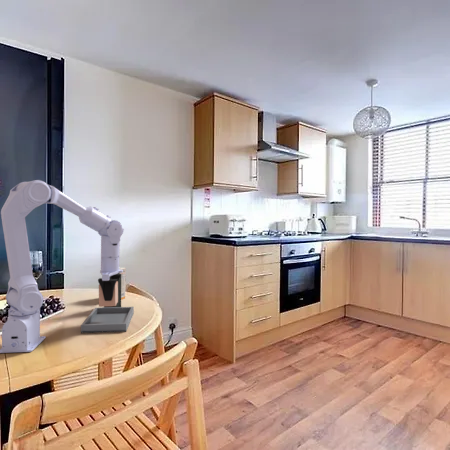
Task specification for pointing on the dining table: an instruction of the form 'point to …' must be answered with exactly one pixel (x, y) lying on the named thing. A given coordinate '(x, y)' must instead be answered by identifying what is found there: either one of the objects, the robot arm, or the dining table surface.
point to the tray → (108, 320)
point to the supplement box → (123, 282)
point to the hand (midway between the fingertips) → (109, 298)
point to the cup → (114, 300)
